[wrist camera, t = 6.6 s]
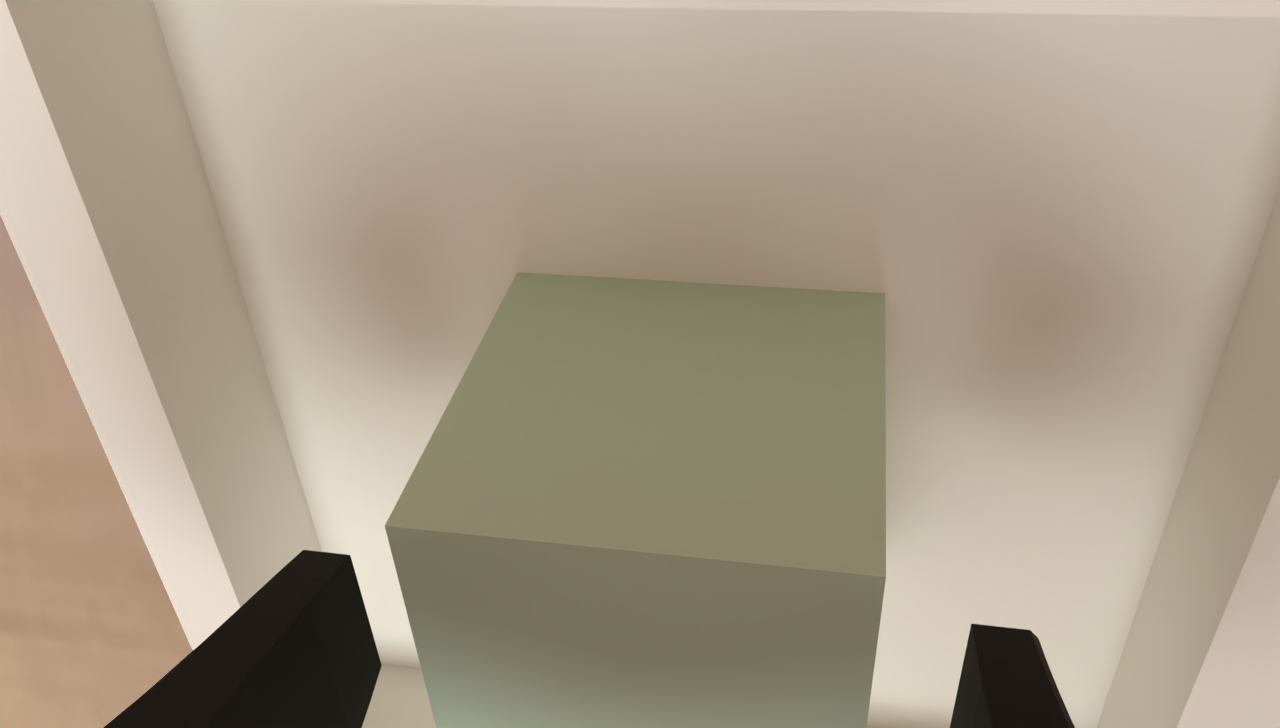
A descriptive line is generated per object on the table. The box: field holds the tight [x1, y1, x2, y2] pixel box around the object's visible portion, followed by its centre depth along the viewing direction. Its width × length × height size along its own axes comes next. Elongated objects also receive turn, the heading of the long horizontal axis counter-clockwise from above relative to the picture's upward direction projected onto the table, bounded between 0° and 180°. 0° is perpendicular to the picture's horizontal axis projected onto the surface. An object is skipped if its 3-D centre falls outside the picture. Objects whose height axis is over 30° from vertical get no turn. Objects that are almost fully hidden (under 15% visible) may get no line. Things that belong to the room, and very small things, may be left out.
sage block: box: [385, 272, 886, 728], centre depth 14 cm, size 5×5×5 cm
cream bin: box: [0, 0, 1280, 728], centre depth 15 cm, size 16×16×3 cm
